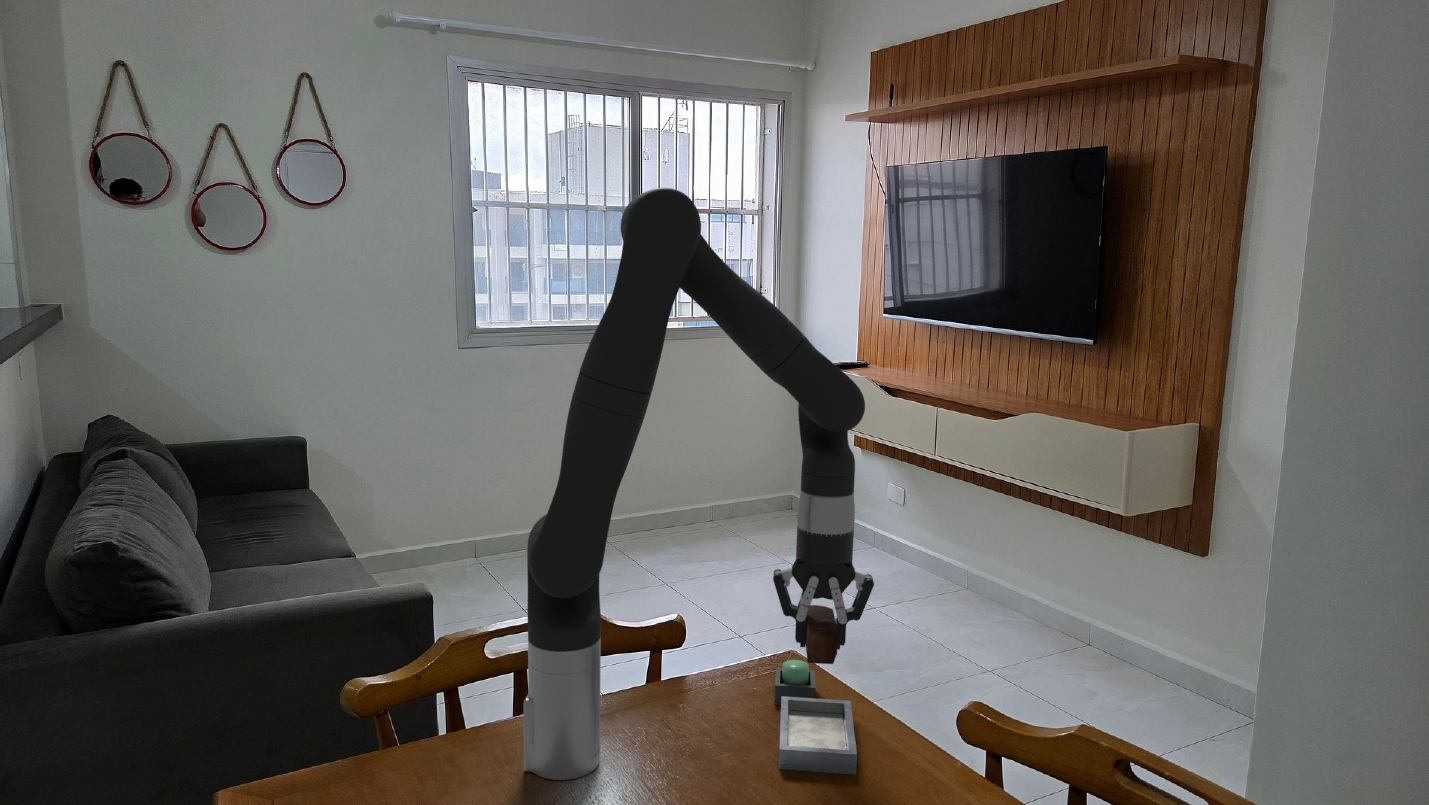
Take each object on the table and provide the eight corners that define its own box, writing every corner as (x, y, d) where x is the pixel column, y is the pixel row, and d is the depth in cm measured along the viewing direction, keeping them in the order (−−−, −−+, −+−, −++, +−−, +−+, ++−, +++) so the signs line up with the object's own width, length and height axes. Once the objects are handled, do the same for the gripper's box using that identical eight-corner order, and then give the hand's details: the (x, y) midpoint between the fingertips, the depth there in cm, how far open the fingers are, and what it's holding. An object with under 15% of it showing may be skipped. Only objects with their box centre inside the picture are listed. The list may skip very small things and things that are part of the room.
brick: (837, 666, 123) (838, 632, 122) (806, 664, 123) (808, 630, 122) (831, 633, 133) (833, 602, 133) (803, 632, 134) (804, 600, 133)
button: (781, 685, 142) (782, 670, 141) (782, 674, 145) (782, 658, 145) (808, 687, 141) (809, 671, 141) (808, 675, 145) (808, 660, 145)
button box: (774, 704, 141) (775, 685, 141) (775, 686, 147) (776, 668, 146) (814, 706, 141) (815, 687, 140) (813, 688, 146) (814, 670, 146)
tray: (778, 769, 123) (779, 749, 123) (780, 714, 138) (781, 696, 138) (855, 774, 122) (857, 754, 122) (849, 718, 137) (850, 700, 137)
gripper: (771, 529, 122) (766, 654, 125) (882, 534, 121) (875, 661, 124) (772, 513, 130) (768, 632, 132) (877, 518, 128) (870, 638, 131)
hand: (820, 645), depth 128 cm, fingers closed on brick, 4 cm apart
